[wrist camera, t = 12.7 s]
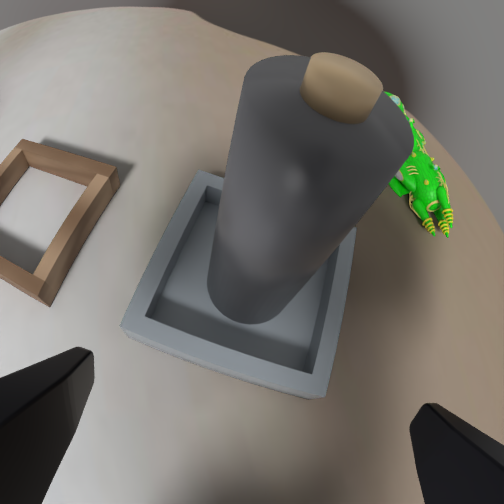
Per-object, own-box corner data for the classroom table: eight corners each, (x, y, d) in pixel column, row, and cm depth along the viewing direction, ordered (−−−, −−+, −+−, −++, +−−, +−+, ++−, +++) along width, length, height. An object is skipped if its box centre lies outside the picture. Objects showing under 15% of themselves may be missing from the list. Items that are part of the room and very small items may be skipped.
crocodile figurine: (396, 116, 34) (412, 91, 30) (454, 247, 26) (483, 223, 22) (350, 105, 33) (364, 76, 29) (403, 244, 24) (433, 215, 21)
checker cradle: (49, 307, 17) (37, 296, 15) (-38, 251, 16) (-51, 238, 15) (120, 185, 22) (116, 167, 20) (29, 155, 21) (22, 138, 20)
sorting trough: (308, 399, 17) (325, 397, 15) (128, 336, 17) (119, 326, 15) (341, 245, 23) (356, 227, 20) (196, 193, 22) (198, 169, 20)
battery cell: (249, 342, 17) (387, 171, 5) (189, 279, 19) (207, 45, 6) (305, 287, 20) (449, 109, 8) (249, 232, 21) (323, 24, 9)
